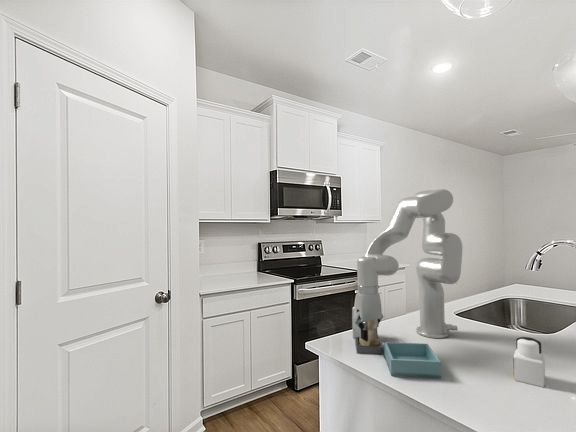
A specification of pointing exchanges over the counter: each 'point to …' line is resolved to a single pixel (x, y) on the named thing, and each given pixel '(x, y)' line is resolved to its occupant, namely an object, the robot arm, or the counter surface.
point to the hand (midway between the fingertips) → (369, 337)
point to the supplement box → (355, 327)
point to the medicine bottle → (529, 362)
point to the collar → (369, 348)
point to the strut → (371, 334)
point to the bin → (412, 360)
